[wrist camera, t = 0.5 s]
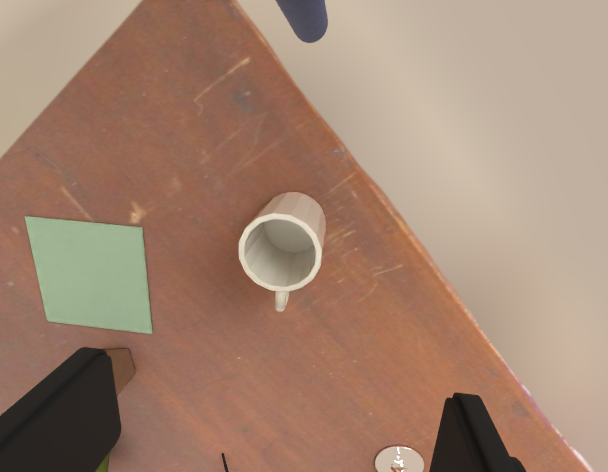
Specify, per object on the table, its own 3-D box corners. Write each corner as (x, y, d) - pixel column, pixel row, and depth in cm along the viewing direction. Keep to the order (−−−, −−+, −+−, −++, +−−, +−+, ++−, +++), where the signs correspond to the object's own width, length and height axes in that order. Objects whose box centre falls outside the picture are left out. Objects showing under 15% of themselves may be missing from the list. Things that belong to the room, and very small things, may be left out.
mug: (261, 189, 36) (238, 210, 28) (329, 194, 35) (324, 217, 28) (259, 275, 39) (238, 316, 31) (321, 282, 39) (315, 325, 31)
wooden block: (129, 347, 45) (86, 394, 37) (137, 372, 46) (97, 422, 39) (101, 348, 45) (53, 394, 38) (109, 373, 47) (65, 422, 39)
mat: (26, 215, 40) (24, 216, 40) (142, 227, 39) (141, 228, 39) (48, 320, 45) (46, 321, 44) (152, 332, 44) (151, 334, 43)
